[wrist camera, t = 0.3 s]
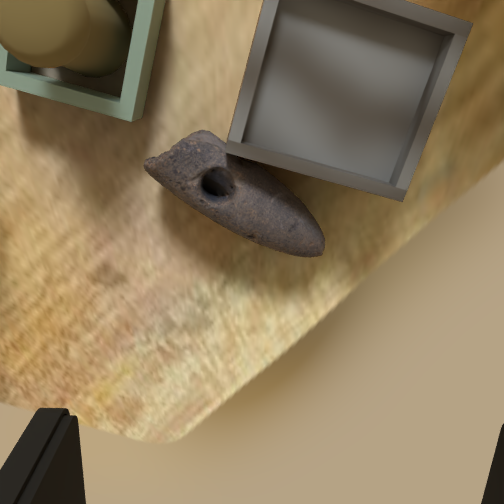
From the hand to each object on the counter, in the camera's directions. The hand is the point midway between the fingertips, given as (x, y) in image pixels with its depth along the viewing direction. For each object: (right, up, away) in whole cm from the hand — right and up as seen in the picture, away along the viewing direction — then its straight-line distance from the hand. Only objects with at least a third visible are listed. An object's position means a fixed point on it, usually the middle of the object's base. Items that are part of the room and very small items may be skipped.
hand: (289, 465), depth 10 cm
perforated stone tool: (-1, +10, +29) cm, 30 cm away
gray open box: (+5, +17, +26) cm, 31 cm away
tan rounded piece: (-13, +21, +24) cm, 34 cm away
